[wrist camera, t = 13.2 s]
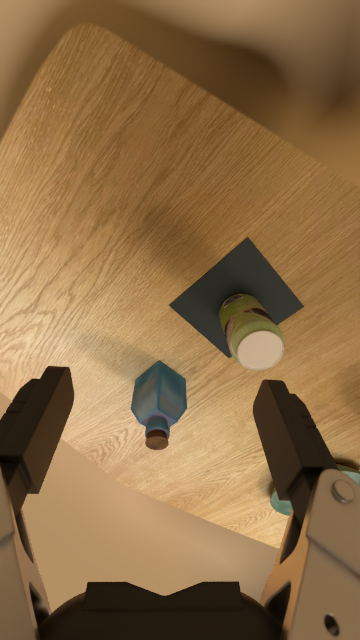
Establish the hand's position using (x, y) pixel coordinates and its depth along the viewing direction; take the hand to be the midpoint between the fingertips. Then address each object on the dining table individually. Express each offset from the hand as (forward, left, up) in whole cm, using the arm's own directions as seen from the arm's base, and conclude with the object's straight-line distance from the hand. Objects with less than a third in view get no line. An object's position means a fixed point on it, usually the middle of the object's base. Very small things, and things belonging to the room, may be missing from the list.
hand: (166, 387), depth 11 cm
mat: (+9, +11, -25) cm, 29 cm away
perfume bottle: (+25, +1, -26) cm, 36 cm away
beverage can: (+9, +11, -25) cm, 29 cm away
